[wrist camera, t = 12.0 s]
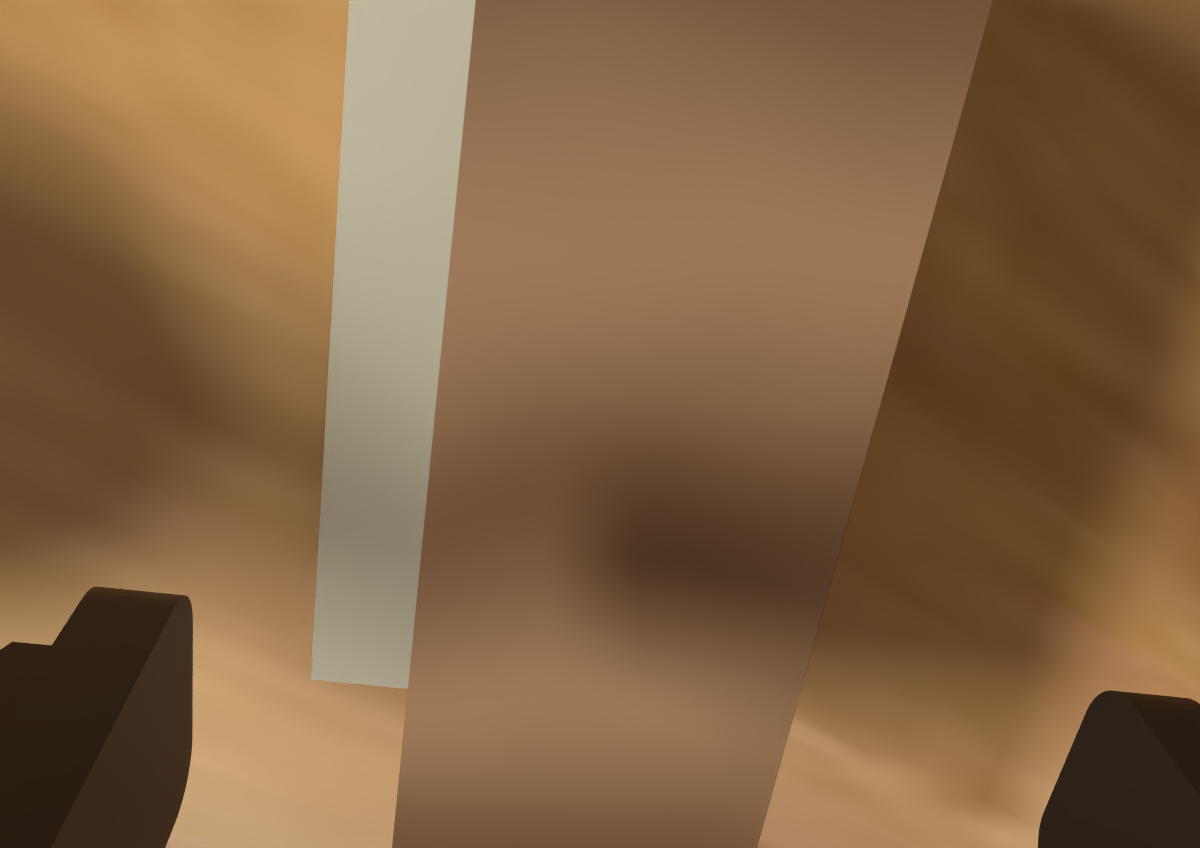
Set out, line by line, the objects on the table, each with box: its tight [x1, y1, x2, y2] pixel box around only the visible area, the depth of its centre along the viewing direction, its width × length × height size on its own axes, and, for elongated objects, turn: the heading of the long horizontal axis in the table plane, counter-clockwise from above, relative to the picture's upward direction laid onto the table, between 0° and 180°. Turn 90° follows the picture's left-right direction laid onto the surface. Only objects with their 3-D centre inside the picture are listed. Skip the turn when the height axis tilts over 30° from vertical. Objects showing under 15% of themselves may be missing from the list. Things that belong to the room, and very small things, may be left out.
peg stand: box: [311, 0, 476, 689], centre depth 20 cm, size 10×20×5 cm, turn 171°
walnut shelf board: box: [392, 0, 993, 848], centre depth 16 cm, size 16×5×4 cm, turn 171°
